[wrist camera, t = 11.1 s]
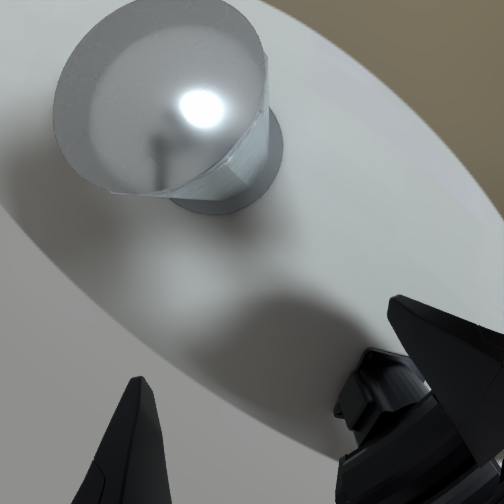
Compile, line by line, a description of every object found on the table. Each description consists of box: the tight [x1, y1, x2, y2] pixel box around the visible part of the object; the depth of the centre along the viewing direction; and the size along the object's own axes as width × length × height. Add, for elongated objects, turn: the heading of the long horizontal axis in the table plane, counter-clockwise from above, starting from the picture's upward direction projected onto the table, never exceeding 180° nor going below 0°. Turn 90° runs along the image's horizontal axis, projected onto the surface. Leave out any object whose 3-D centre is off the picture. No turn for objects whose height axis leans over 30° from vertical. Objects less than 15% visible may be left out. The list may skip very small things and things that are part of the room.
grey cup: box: [53, 0, 269, 201], centre depth 14 cm, size 7×7×12 cm
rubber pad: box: [169, 108, 283, 215], centre depth 20 cm, size 9×9×1 cm
